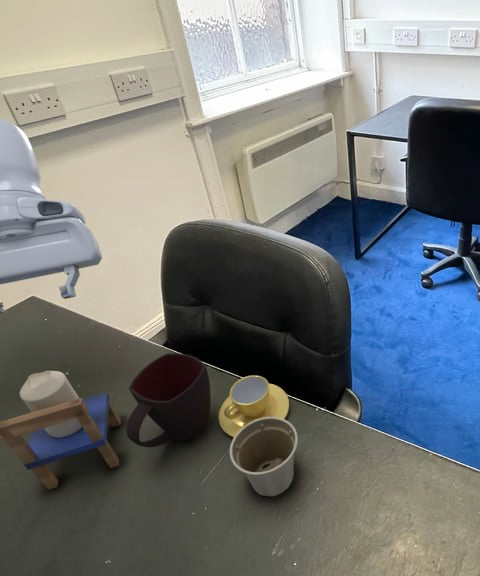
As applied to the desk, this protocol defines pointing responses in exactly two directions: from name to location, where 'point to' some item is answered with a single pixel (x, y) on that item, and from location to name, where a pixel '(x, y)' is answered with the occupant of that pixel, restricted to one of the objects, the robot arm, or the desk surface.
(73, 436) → the chair
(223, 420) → the cup
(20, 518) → the desk surface
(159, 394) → the mug
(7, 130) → the robot arm
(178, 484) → the desk surface
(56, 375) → the candle
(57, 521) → the desk surface
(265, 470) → the flower pot
